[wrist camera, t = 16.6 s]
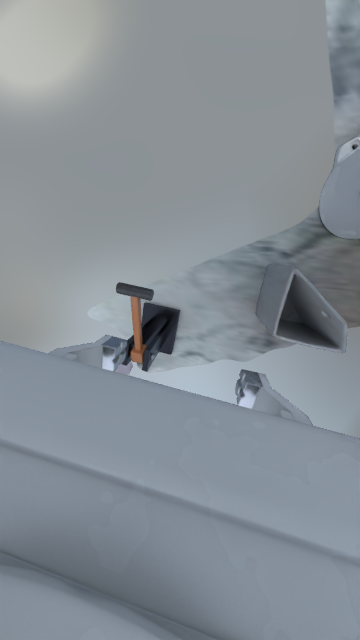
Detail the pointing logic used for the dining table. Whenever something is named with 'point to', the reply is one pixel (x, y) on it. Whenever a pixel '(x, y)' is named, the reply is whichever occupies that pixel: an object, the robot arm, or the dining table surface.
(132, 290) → the lever
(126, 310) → the dining table surface
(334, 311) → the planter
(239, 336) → the dining table surface
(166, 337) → the bracket
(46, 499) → the robot arm
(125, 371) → the smoothie
